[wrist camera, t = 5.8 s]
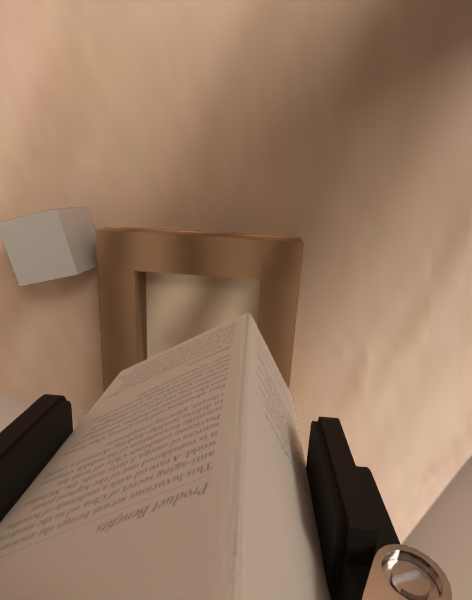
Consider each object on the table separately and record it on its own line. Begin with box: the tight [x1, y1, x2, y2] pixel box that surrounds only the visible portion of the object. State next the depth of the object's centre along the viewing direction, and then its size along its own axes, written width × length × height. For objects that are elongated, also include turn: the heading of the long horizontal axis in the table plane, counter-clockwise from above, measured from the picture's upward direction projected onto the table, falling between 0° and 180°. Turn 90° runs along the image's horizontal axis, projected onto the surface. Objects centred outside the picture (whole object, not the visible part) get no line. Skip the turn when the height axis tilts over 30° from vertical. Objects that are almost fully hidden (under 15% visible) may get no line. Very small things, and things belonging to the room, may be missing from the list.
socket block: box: [96, 227, 303, 392], centre depth 33 cm, size 16×17×4 cm
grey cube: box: [0, 207, 97, 287], centre depth 31 cm, size 5×5×5 cm
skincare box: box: [0, 313, 331, 600], centre depth 10 cm, size 6×4×12 cm
